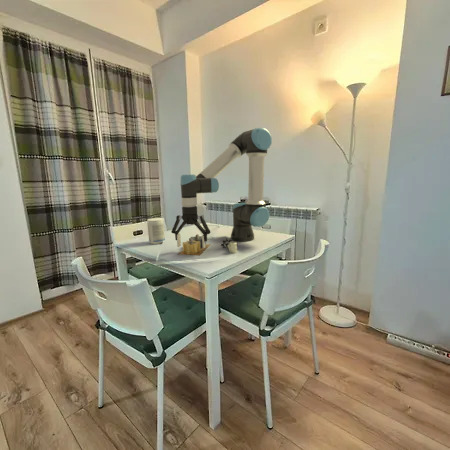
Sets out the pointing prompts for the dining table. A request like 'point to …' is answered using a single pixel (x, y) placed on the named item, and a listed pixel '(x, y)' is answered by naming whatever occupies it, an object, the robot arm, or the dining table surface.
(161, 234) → the supplement tub
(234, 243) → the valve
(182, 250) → the gear board
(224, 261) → the dining table surface
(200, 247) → the gear
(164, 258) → the dining table surface
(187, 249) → the brass gear
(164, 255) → the dining table surface
